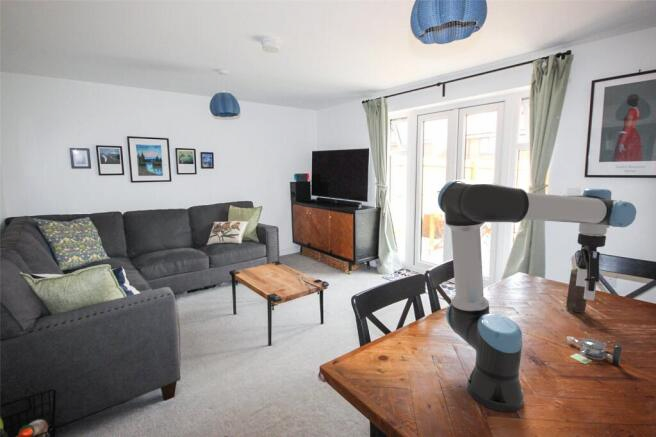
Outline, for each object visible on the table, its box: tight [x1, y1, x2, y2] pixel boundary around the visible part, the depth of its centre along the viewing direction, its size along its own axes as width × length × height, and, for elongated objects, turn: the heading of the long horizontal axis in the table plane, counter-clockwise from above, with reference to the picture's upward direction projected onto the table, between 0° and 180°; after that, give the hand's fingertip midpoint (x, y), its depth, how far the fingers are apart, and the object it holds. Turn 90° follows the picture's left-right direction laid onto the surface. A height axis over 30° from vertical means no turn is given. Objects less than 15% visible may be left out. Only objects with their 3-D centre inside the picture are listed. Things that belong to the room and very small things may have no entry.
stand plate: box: [569, 348, 606, 365], centre depth 119 cm, size 20×13×1 cm, turn 114°
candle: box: [565, 268, 588, 313], centre depth 154 cm, size 8×7×20 cm
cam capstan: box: [566, 335, 623, 366], centre depth 119 cm, size 15×17×7 cm
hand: (584, 292), depth 117 cm, fingers open, 13 cm apart
